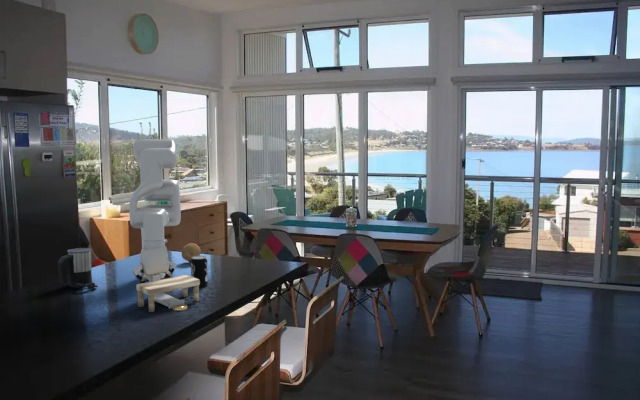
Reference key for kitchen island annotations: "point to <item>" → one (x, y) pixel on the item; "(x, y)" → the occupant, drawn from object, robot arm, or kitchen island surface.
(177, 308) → the gold metal disc
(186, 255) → the natural sponge
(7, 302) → the kitchen island surface
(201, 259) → the beverage can
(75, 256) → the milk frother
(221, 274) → the kitchen island surface
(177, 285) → the low shelf
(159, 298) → the white l-shaped block
